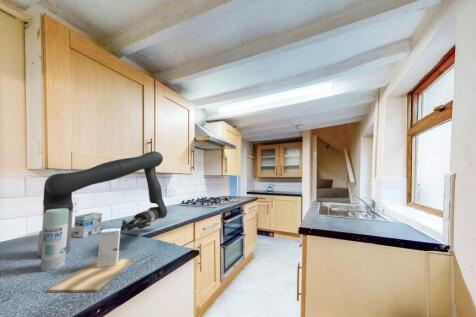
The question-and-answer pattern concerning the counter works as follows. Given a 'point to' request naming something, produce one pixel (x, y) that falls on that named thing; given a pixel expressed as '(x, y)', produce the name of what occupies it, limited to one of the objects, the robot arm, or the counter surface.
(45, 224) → the spray paint can
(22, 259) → the counter surface
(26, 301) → the counter surface
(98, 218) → the light bulb box
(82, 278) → the wooden board
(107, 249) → the skincare box
